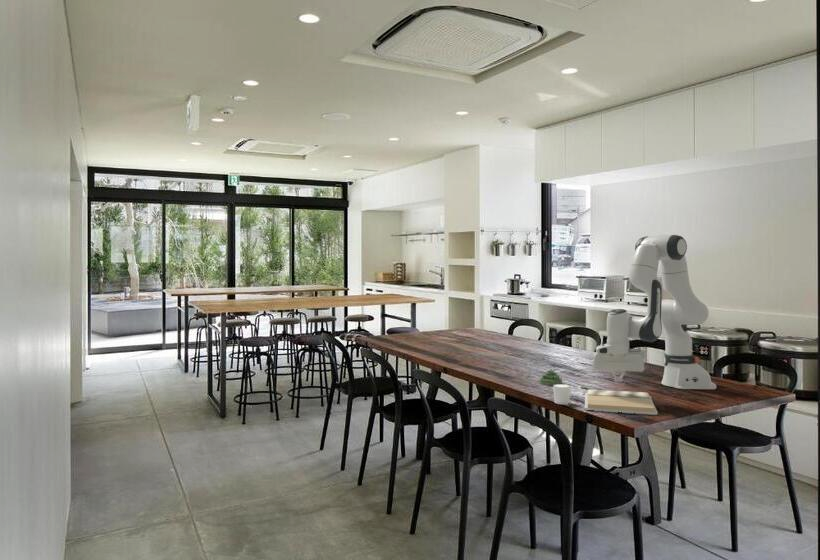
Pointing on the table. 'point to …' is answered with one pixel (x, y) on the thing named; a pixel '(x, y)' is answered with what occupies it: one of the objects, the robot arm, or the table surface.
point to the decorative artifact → (550, 379)
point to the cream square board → (620, 404)
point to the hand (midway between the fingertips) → (618, 381)
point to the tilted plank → (618, 393)
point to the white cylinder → (561, 393)
